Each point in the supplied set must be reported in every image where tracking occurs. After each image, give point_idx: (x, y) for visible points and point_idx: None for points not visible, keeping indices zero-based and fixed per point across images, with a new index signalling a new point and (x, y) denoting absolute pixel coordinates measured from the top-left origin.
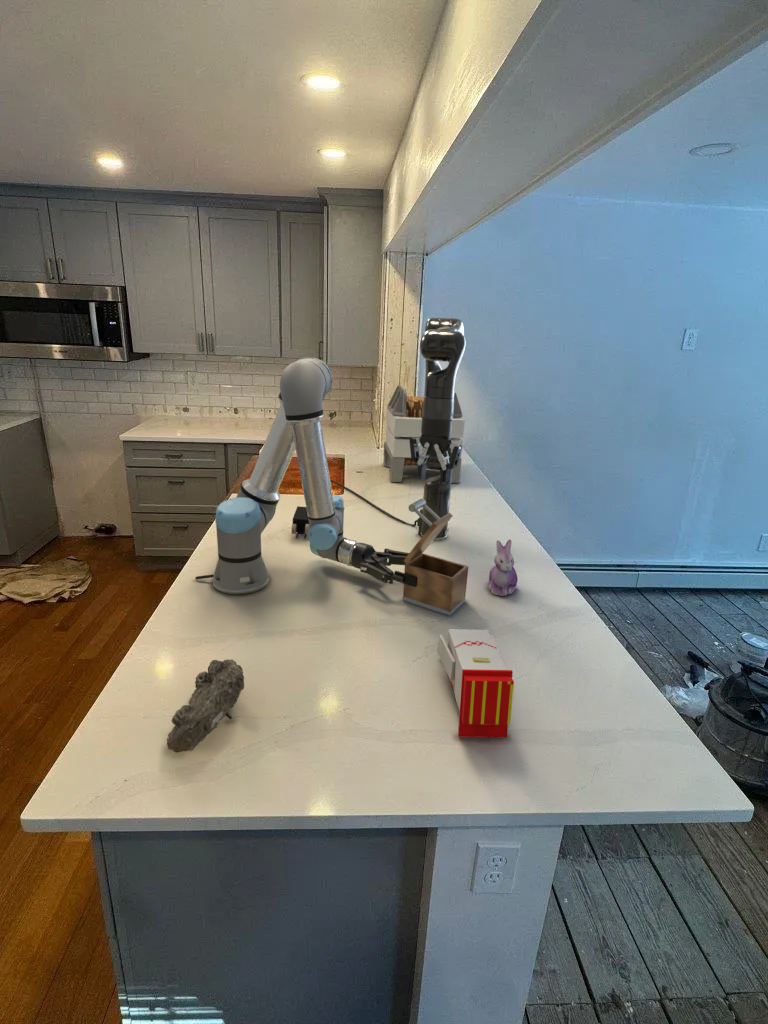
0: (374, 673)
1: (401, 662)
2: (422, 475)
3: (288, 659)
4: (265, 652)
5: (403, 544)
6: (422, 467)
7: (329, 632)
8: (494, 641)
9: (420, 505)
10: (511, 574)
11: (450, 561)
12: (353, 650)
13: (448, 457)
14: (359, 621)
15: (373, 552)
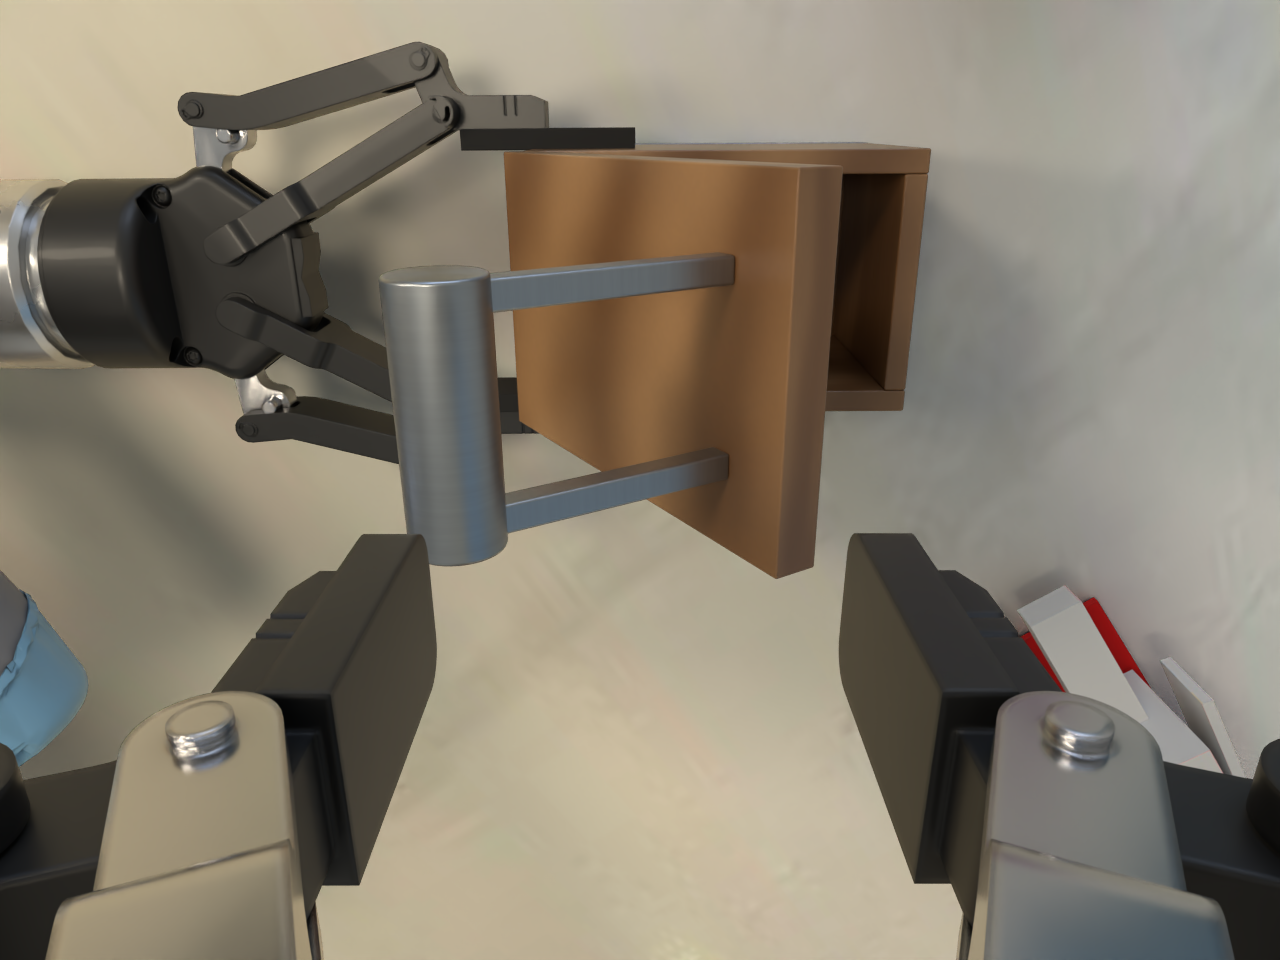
0: (760, 848)
1: (811, 758)
2: (416, 683)
3: (474, 929)
4: (385, 940)
5: None
6: (368, 837)
7: (468, 752)
8: (1232, 752)
9: (497, 429)
10: None
11: (779, 155)
12: (621, 791)
13: (1209, 932)
14: (511, 629)
15: (167, 223)
